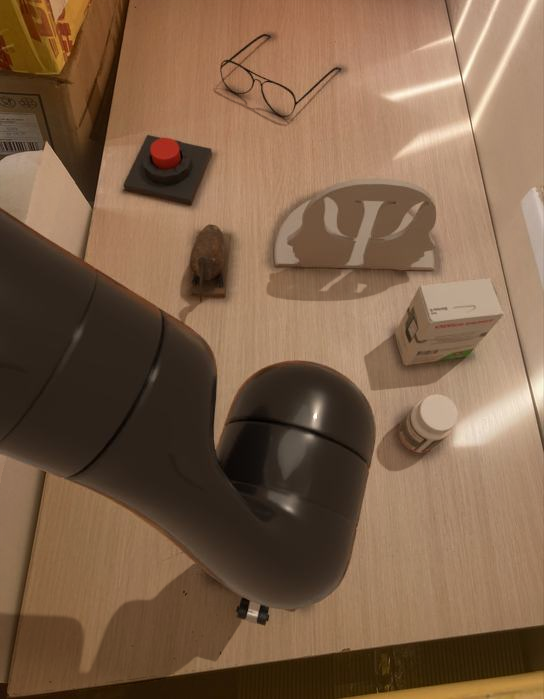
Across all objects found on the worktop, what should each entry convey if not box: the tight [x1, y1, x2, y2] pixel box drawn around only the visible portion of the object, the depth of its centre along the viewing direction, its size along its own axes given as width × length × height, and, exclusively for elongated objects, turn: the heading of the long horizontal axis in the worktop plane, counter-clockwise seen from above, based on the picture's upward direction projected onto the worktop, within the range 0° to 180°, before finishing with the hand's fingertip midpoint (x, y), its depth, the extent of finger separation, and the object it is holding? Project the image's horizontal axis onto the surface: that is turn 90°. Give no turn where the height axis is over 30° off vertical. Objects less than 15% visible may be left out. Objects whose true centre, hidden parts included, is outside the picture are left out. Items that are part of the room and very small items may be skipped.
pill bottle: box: [398, 393, 459, 454], centre depth 60 cm, size 5×5×8 cm
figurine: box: [189, 224, 232, 303], centre depth 68 cm, size 14×4×9 cm, turn 178°
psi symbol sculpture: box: [273, 177, 437, 271], centre depth 68 cm, size 22×13×17 cm, turn 89°
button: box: [150, 137, 181, 170], centre depth 76 cm, size 4×4×2 cm
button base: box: [123, 134, 213, 206], centre depth 78 cm, size 10×10×3 cm
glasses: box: [219, 33, 342, 118], centre depth 87 cm, size 14×15×5 cm
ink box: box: [394, 277, 506, 366], centre depth 63 cm, size 9×5×12 cm, turn 98°
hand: (268, 548), depth 55 cm, fingers open, 3 cm apart
